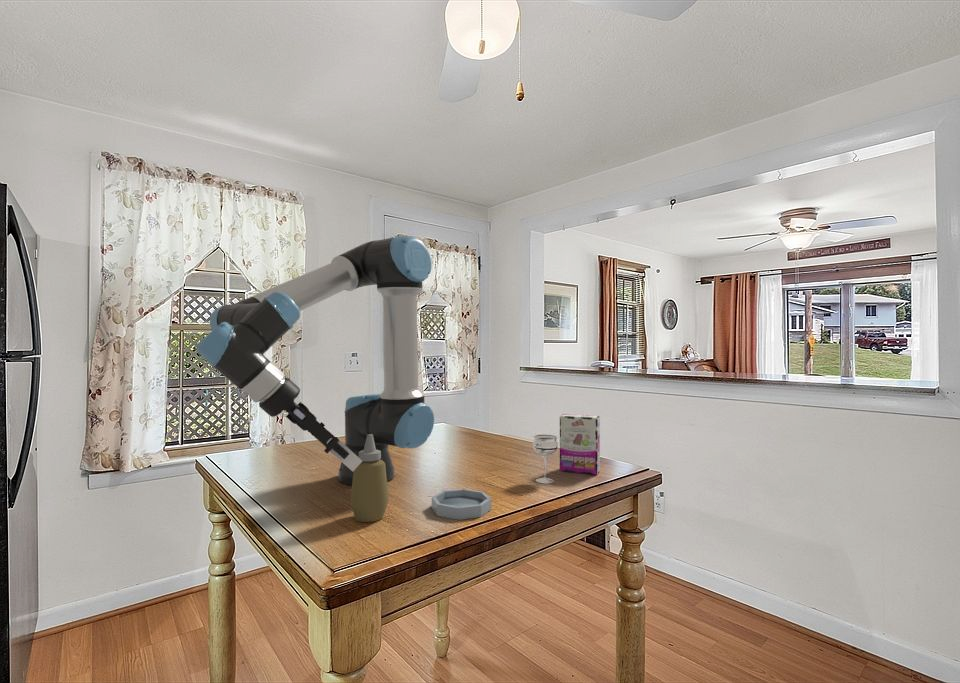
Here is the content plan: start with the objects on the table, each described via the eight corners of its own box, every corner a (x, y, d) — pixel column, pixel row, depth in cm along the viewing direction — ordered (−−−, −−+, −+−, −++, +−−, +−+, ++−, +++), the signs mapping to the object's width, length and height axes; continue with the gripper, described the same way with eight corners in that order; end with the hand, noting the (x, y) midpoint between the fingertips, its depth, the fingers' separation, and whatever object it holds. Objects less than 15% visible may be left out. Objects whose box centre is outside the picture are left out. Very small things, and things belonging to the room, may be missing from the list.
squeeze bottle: (379, 526, 102) (380, 439, 102) (343, 523, 103) (343, 437, 103) (394, 512, 110) (394, 432, 110) (360, 510, 111) (360, 430, 111)
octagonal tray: (422, 513, 110) (423, 501, 110) (450, 496, 121) (450, 486, 121) (473, 522, 104) (473, 510, 104) (497, 504, 116) (497, 494, 116)
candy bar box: (600, 471, 145) (600, 415, 145) (597, 475, 141) (598, 418, 141) (562, 467, 150) (563, 413, 150) (558, 471, 145) (559, 415, 145)
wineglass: (541, 475, 140) (541, 433, 140) (562, 480, 136) (562, 436, 136) (527, 481, 135) (528, 437, 135) (549, 485, 130) (549, 440, 130)
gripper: (251, 397, 106) (323, 459, 113) (263, 413, 84) (351, 488, 92) (278, 372, 109) (346, 434, 116) (296, 381, 87) (379, 457, 94)
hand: (348, 458), depth 104 cm, fingers open, 13 cm apart
